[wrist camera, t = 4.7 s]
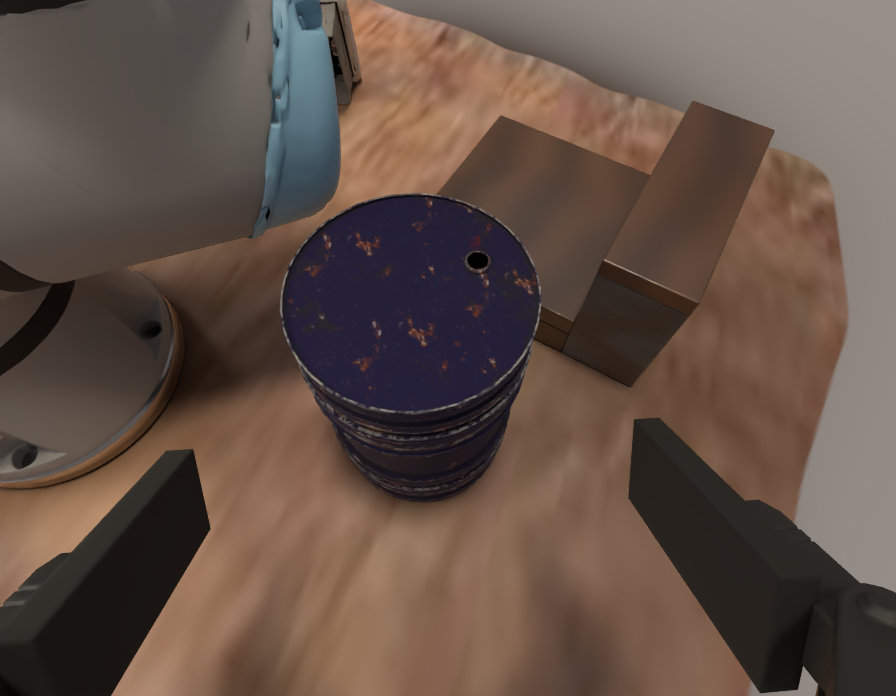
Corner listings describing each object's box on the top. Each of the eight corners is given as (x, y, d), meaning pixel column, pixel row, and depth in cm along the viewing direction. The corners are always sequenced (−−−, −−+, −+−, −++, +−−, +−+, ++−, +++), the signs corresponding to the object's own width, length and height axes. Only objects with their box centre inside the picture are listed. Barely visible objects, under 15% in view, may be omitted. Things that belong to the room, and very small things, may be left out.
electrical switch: (363, 76, 48) (345, -29, 39) (360, 119, 46) (341, 18, 37) (261, 76, 48) (221, -29, 39) (254, 119, 46) (210, 18, 37)
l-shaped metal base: (404, 273, 38) (392, 165, 29) (496, 155, 43) (510, 34, 34) (630, 387, 34) (699, 303, 25) (698, 241, 39) (775, 129, 30)
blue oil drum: (387, 536, 29) (341, 471, 16) (319, 395, 33) (238, 248, 20) (533, 453, 32) (600, 335, 18) (454, 330, 35) (461, 160, 22)
